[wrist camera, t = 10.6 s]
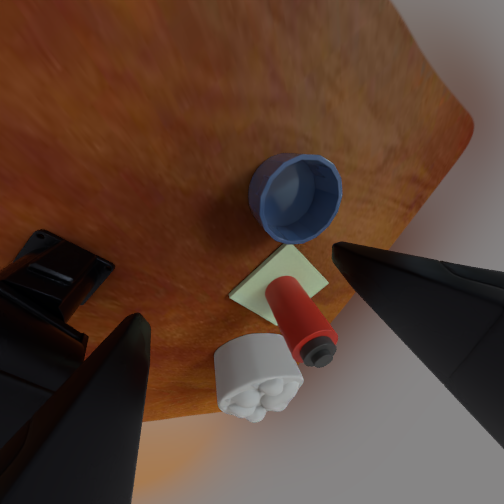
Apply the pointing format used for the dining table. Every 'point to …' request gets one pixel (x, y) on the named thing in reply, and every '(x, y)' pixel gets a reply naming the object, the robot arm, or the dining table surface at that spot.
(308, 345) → the bottle
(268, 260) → the tile
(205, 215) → the dining table surface
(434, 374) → the robot arm
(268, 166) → the cup
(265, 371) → the lumpy-topped squat cylinder
